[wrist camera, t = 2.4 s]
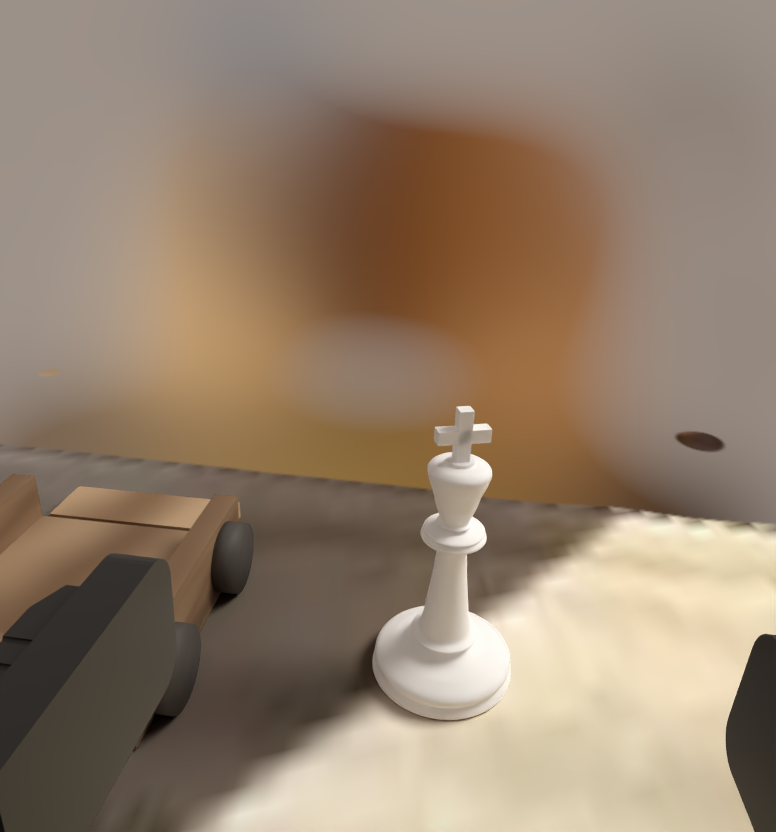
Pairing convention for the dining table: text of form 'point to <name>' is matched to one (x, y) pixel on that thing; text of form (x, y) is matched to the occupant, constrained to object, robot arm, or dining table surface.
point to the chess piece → (447, 598)
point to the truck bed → (132, 535)
